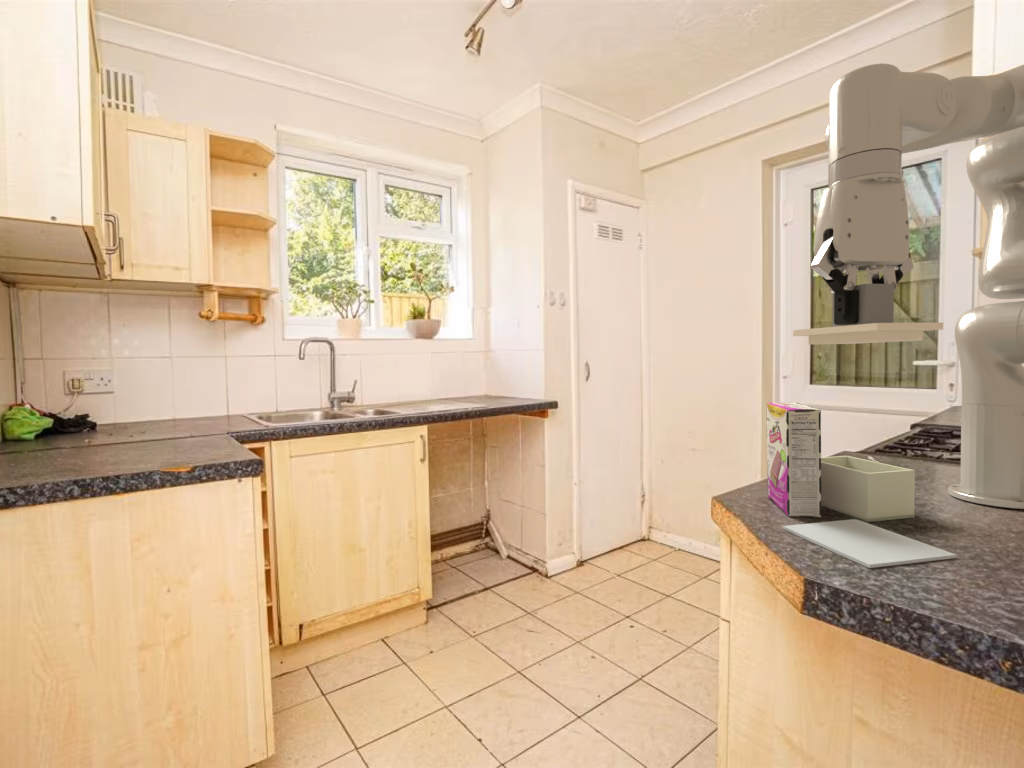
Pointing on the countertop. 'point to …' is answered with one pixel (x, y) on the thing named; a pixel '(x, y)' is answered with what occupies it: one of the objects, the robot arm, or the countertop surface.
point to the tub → (867, 488)
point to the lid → (870, 321)
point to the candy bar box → (794, 458)
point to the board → (867, 543)
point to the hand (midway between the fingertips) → (862, 322)
